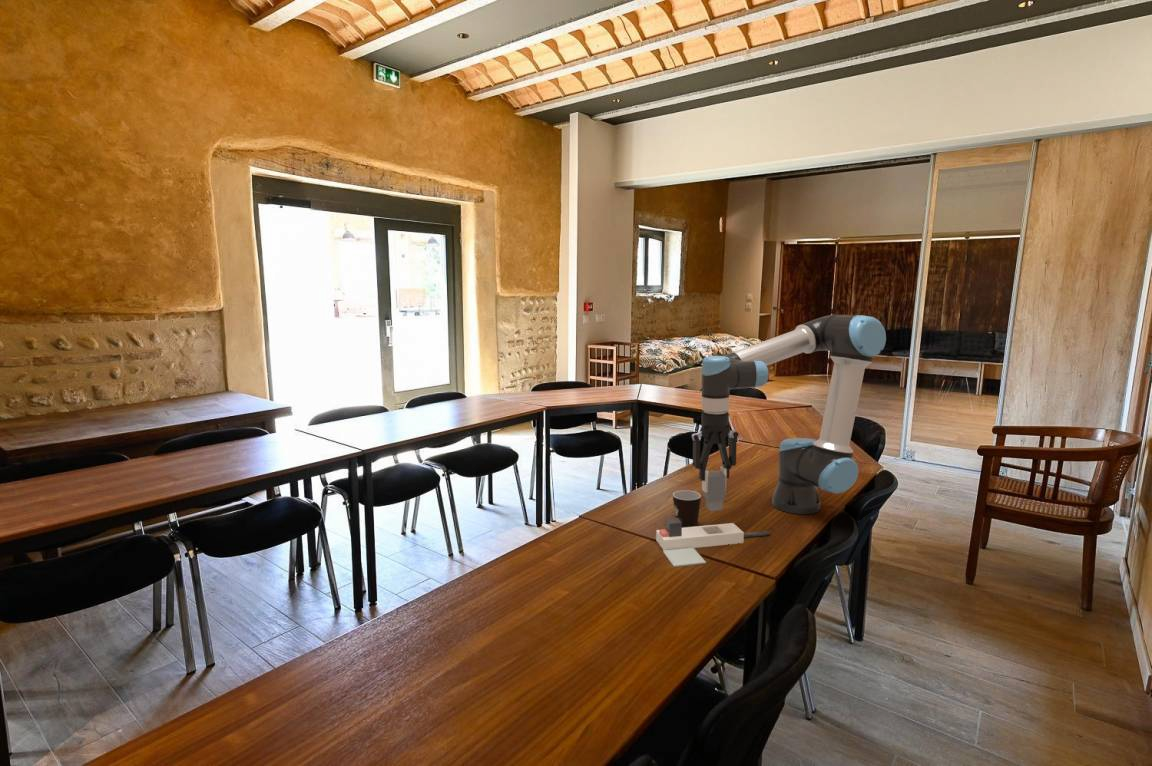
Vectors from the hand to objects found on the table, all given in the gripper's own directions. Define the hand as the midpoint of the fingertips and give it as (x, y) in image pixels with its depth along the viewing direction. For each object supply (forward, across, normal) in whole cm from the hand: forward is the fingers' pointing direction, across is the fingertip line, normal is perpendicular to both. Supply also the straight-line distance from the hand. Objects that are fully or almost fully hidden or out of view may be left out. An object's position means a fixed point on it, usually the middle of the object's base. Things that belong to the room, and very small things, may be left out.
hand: (714, 489), depth 163 cm
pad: (+15, +12, +8) cm, 21 cm away
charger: (+6, 0, 0) cm, 6 cm away
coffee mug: (+16, +3, -13) cm, 21 cm away
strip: (+15, -1, 0) cm, 15 cm away
